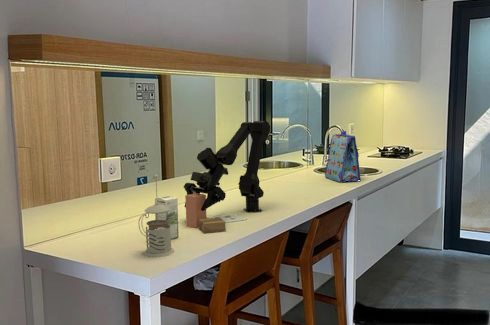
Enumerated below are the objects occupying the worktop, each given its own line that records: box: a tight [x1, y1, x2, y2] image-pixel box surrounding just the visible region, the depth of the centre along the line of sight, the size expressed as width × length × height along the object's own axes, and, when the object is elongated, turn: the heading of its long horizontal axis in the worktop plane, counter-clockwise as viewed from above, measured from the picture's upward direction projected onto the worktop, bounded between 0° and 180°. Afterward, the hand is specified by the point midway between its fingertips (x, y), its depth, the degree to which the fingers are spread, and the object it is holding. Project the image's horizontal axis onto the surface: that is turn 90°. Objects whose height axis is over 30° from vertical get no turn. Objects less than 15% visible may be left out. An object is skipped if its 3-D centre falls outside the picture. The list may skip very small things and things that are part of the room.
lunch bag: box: [324, 130, 362, 183], centre depth 294 cm, size 22×14×29 cm, turn 15°
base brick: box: [198, 217, 227, 234], centre depth 186 cm, size 8×8×4 cm
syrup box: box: [154, 195, 179, 240], centre depth 176 cm, size 6×6×14 cm
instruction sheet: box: [213, 213, 248, 224], centre depth 204 cm, size 12×9×1 cm
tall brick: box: [184, 193, 208, 229], centre depth 193 cm, size 6×6×12 cm
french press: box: [138, 174, 176, 258], centre depth 159 cm, size 10×12×25 cm
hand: (193, 208), depth 192 cm, fingers open, 9 cm apart
